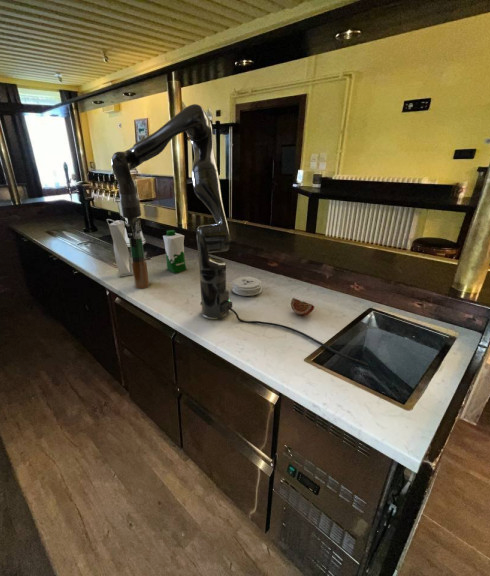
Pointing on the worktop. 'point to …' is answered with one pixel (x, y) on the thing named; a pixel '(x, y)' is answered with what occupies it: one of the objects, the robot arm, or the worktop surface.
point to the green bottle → (137, 250)
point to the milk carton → (174, 251)
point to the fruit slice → (301, 307)
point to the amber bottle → (140, 272)
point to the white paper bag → (121, 248)
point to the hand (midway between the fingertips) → (136, 244)
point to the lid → (247, 286)
